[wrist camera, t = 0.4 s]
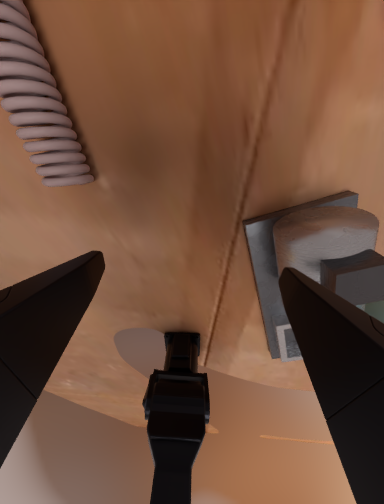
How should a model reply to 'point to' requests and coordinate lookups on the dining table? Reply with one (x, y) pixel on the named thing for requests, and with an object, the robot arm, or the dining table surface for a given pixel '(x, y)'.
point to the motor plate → (314, 259)
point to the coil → (36, 101)
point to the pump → (375, 310)
